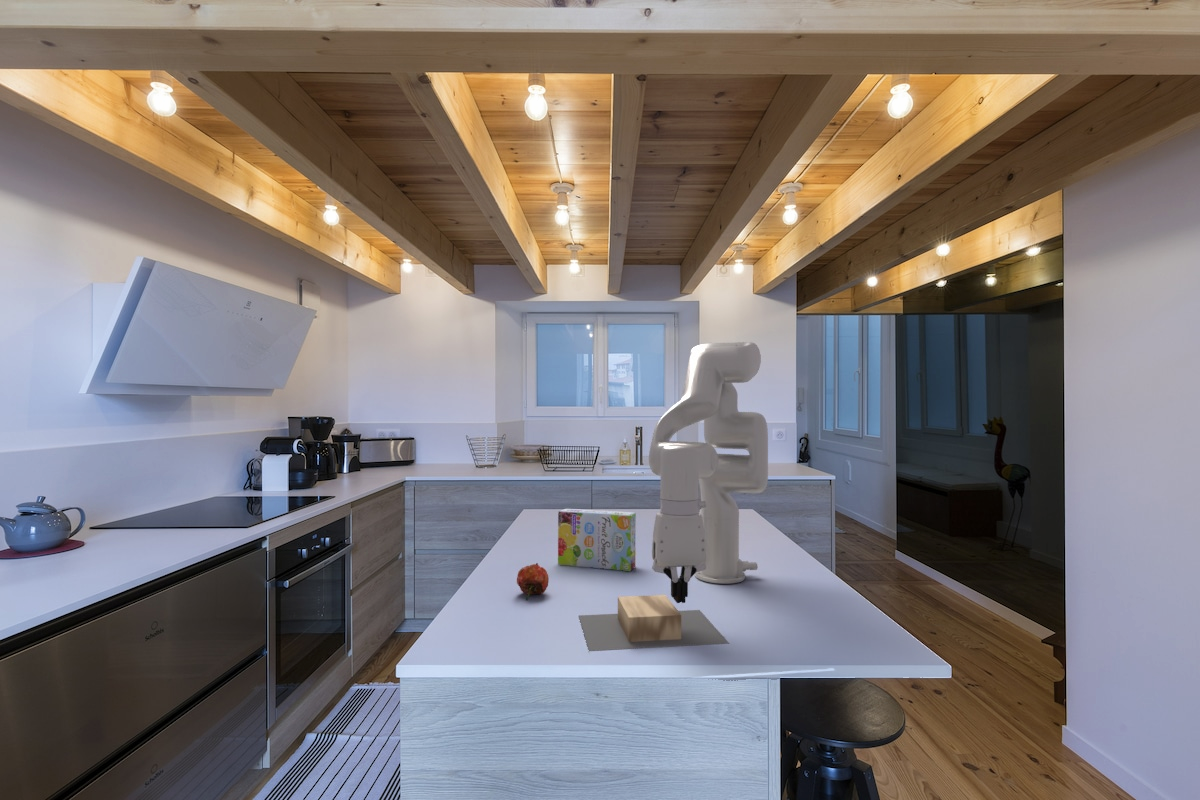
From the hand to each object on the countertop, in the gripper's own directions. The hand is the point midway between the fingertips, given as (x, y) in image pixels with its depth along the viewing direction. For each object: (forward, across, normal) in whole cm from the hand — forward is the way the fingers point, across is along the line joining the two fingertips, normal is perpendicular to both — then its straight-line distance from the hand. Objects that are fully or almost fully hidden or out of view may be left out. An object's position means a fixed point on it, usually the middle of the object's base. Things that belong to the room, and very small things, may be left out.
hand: (679, 600), depth 118 cm
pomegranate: (+6, +28, -25) cm, 38 cm away
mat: (+6, +6, 0) cm, 8 cm away
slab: (+3, +1, 0) cm, 3 cm away
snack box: (+6, +10, -48) cm, 49 cm away
